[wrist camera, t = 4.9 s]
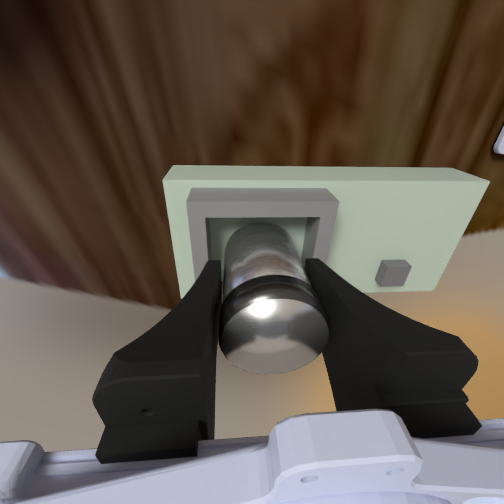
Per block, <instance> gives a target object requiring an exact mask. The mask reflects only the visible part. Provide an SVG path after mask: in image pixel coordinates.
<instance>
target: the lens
mask: <svg viewBox="0 0 504 504" xmlns="http://www.w3.org/2000/svg"><path fill="white" fill-rule="evenodd" d="M329 333H330V325H329V321H328V319H327V316H326V314H325V311H324V309H323V307H322V304H321V302H320V299H319V297H318V295H317V293H316V292H315V290H314V289H313V288H312V286H311V284H310V281H309V279H308V276H307V274H306V271H305V269H304V267H303V264H302V262H301V259H300V257H299V254H298V252H297V249H296V247H295V244H294V242H293V239H292V238H291V236H290V235H289V233H288V232H287V231H286V230H284V229H283V228H282V227H280V226H278V225H275V224H272V223H268V222H256V223H251V224H248V225H245V226H243V227H241V228H239V229H238V230H237V231H235V232H234V233H233V234H232V235H231V237H230V238H229V239H228V241H227V243H226V246H225V250H224V275H223V303H222V305H221V309H220V319H219V346H220V348H221V351H222V352H223V354H224V356H225V357H226V358H227V360H228V361H229V362H230V363H232V364H233V365H234V366H236V367H237V368H239V369H242V370H244V371H247V372H251V373H256V374H279V373H284V372H289V371H293V370H295V369H298V368H301V367H303V366H305V365H306V364H308V363H310V362H311V361H313V360H314V359H315V358H317V357H318V356H319V355H320V354H321V352H322V351H323V350H324V348H325V347H326V345H327V342H328V338H329Z"/></svg>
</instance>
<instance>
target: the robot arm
mask: <svg viewBox="0 0 504 504" xmlns="http://www.w3.org/2000/svg"><path fill="white" fill-rule="evenodd" d="M494 152H495V153H499V154H504V127H503V129H502V131H501V133H500V135H499V137H498V139H497V141H496V143H495V145H494ZM304 269H305V271H306V274H307V276H308V279H309V281H310V284H311V286H312V288H313V289H314V290H315V292H316V293H317V295H318V297H319V299H320V302H321V304H322V307H323V309H324V311H325V314H326V316H327V319H328V321H329V325H330V333H329V338H328V342H327V345H326V347H325V348H324V350H323V351H322V353H323V357H324V361H325V364H326V368H327V372H328V376H329V380H330V384H331V388H332V392H333V397H334V401H335V406H336V410H337V411H336V412H322V413H306V414H300V415H295V416H291V417H288V418H286V419H284V420H282V421H280V422H278V423H277V424H276V425H275V427H274V428H273V430H272V432H271V433H270V435H269V436H258V437H245V438H231V439H217V440H214V427H215V426H214V425H215V383H216V354H217V344H218V337H219V319H220V309H221V305H222V275H221V260H208V261H207V262H206V264H205V266H204V268H203V270H202V272H201V273H200V275H199V277H198V278H197V280H196V281H195V283H194V284H193V286H192V287H191V288H190V290H189V291H188V292H187V293H186V295H185V296H184V297H183V298H182V300H181V301H180V302H179V303H178V304H177V305H176V306H175V307H174V308H173V309H172V310H171V311H170V312H169V313H168V314H167V315H166V316H165V317H164V318H163V319H162V320H161V321H160V322H158V323H157V324H156V325H155V326H153V327H152V328H151V329H150V330H148V331H147V332H146V333H144V334H143V335H142V336H140V337H139V338H137V339H136V340H134V341H133V342H131V343H129V344H128V345H126V346H125V347H123V348H121V349H120V350H118V351H116V352H115V353H114V354H113V356H112V358H111V359H110V361H109V362H108V364H107V366H106V368H105V369H104V371H103V373H102V376H101V378H100V380H99V383H98V385H97V387H96V390H95V391H94V394H93V398H92V400H93V404H94V406H95V408H96V410H97V412H98V414H99V415H100V417H101V419H102V421H103V423H104V424H105V429H104V432H103V435H102V437H101V440H100V443H99V446H98V448H95V449H82V450H68V451H55V452H44V450H43V448H42V447H41V445H40V444H38V443H36V442H34V441H28V440H27V441H26V440H22V441H7V442H0V504H504V418H500V419H487V420H478V419H477V418H476V417H475V415H474V414H473V413H472V411H471V410H470V409H469V407H468V406H467V405H466V403H467V402H468V401H469V400H468V397H467V396H466V394H465V393H464V392H463V390H462V388H463V387H464V386H465V385H466V384H467V382H468V381H469V380H470V378H471V377H472V376H473V375H474V373H475V372H476V370H477V366H478V359H477V356H476V355H474V353H473V352H472V351H471V350H470V349H469V348H468V347H467V346H466V345H465V343H463V341H462V340H461V339H460V338H459V337H458V336H455V335H452V334H449V333H446V332H444V331H440V330H437V329H435V328H432V327H429V326H427V325H424V324H422V323H420V322H417V321H414V320H412V319H410V318H408V317H406V316H404V315H401V314H400V313H397V312H396V311H394V310H392V309H389V308H387V307H386V306H384V305H382V304H380V303H379V302H377V301H375V300H373V299H372V298H370V297H369V296H367V295H365V294H364V293H362V292H361V291H360V290H358V289H357V288H355V287H354V286H352V285H351V284H350V283H348V282H347V281H346V280H344V279H343V278H342V277H341V276H339V275H338V274H337V273H336V272H334V271H333V270H332V269H331V268H330V267H328V266H327V265H326V264H325V263H324V262H322V261H321V260H320V259H318V258H306V262H305V268H304Z"/></svg>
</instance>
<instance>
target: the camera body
mask: <svg viewBox="0 0 504 504" xmlns="http://www.w3.org/2000/svg"><path fill="white" fill-rule="evenodd" d="M489 183H490V181H488V180H485V179H482V178H479V177H476V176H473V175H470V174H468V173H465V172H462V171H459V170H456V169H453V168H412V167H304V166H196V165H173V166H172V168H171V169H170V170H169V172H168V173H167V175H166V176H165V177H164V179H163V186H164V192H165V199H166V205H167V211H168V218H169V224H170V230H171V237H172V243H173V250H174V256H175V262H176V269H177V275H178V282H179V288H180V294H181V298H183V297H184V296H185V295H186V293H187V292H188V291H189V290H190V288H191V287H192V286H193V284H194V283H195V281H196V280H197V278H198V277H199V275H200V273H201V272H202V270H203V268H204V266H205V264H206V262H207V261H208V260H221V275H222V303H223V275H224V250H225V246H226V243H227V241H228V239H229V238H230V237H231V235H232V234H233V233H234V232H235V231H237V230H238V229H239V228H241V227H243V226H245V225H248V224H251V223H256V222H268V223H272V224H275V225H278V226H280V227H282V228H283V229H284V230H286V231H287V232H288V233H289V235H290V236H291V238H292V239H293V242H294V244H295V247H296V249H297V252H298V254H299V257H300V259H301V262H302V264H303V267H304V268H305V262H306V258H318V259H320V260H321V261H322V262H324V263H325V264H326V265H327V266H328V267H330V268H331V269H332V270H333V271H334V272H336V273H337V274H338V275H339V276H341V277H342V278H343V279H344V280H346V281H347V282H348V283H350V284H351V285H352V286H354V287H355V288H357V289H358V290H360V291H361V292H362V293H374V292H408V291H434V289H435V287H436V284H437V283H438V281H439V279H440V277H441V275H442V273H443V271H444V269H445V267H446V265H447V264H448V262H449V260H450V258H451V256H452V254H453V252H454V250H455V248H456V246H457V244H458V242H459V241H460V239H461V237H462V235H463V233H464V231H465V229H466V227H467V225H468V223H469V221H470V219H471V218H472V216H473V214H474V212H475V210H476V208H477V206H478V204H479V202H480V200H481V198H482V196H483V194H484V193H485V191H486V189H487V187H488V185H489Z"/></svg>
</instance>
